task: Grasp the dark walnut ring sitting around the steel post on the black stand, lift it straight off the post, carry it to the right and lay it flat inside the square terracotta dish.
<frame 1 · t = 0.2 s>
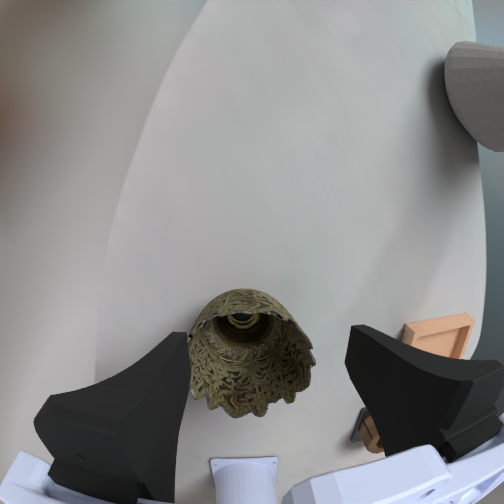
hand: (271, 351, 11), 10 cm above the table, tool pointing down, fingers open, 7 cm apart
coffee pot: (462, 136, 20), on the table
stand: (378, 419, 27), on the table
cup: (242, 309, 22), on the table
dish: (427, 355, 25), on the table
ring: (379, 422, 26), resting on stand
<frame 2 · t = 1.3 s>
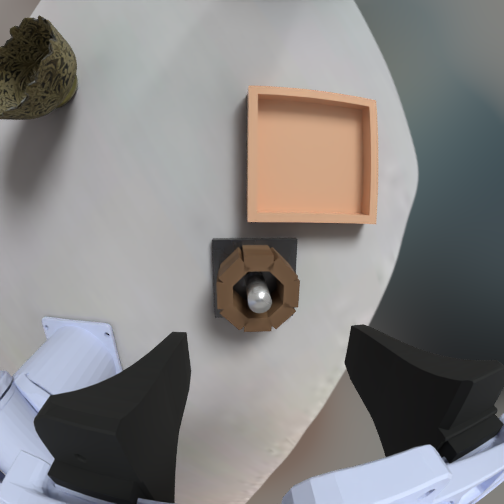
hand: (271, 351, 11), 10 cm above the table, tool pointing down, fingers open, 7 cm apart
stand: (254, 277, 21), on the table
cup: (64, 90, 17), on the table
dish: (310, 156, 19), on the table
ring: (254, 280, 21), resting on stand
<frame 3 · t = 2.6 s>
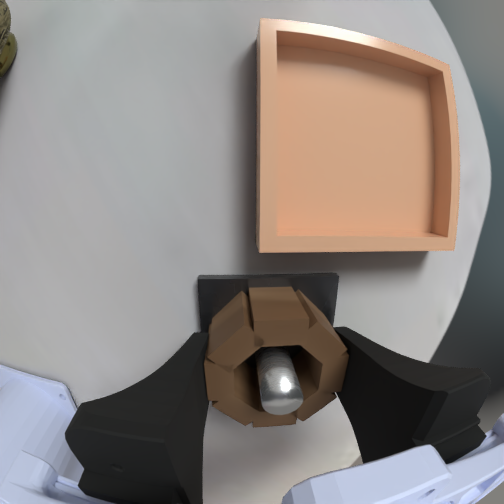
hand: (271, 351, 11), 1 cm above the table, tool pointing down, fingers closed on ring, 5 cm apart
stand: (267, 335, 13), on the table
cup: (3, 62, 8), on the table
dish: (360, 139, 11), on the table
ring: (268, 340, 12), point 1 cm above the table, touching gripper, stand
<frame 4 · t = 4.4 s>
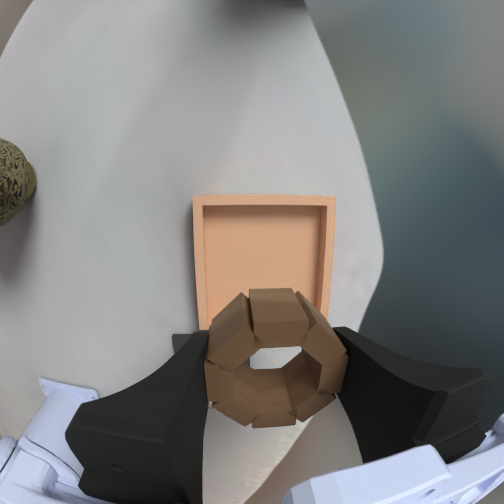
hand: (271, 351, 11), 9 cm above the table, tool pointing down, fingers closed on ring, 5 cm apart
cup: (26, 181, 17), on the table
dish: (262, 259, 20), on the table
ring: (268, 341, 12), point 8 cm above the table, touching gripper
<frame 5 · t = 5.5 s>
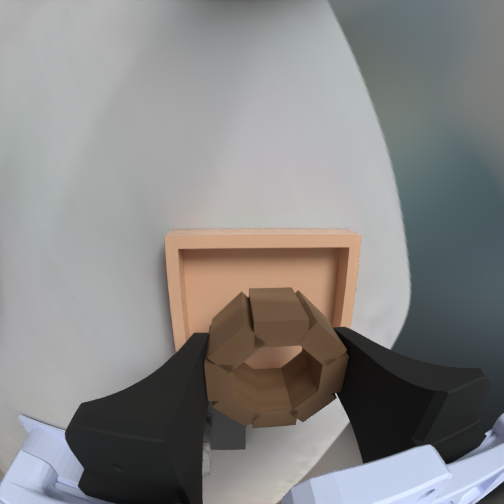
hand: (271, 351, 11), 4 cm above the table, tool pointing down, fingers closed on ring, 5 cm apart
stand: (202, 421, 17), on the table
dish: (261, 311, 15), on the table
ring: (268, 341, 12), point 3 cm above the table, touching gripper
when the fingers open (3 cm above the table, at t = 6.3 s): ring drops 1 cm, resting on dish.
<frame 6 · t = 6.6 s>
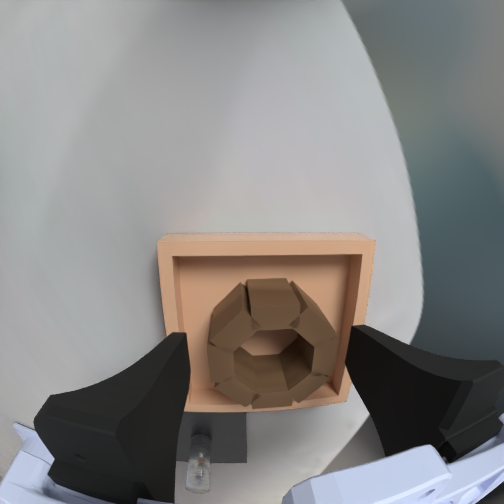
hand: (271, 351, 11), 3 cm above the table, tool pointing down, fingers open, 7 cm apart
stand: (201, 435, 16), on the table
dish: (264, 323, 14), on the table
ring: (266, 328, 14), resting on dish
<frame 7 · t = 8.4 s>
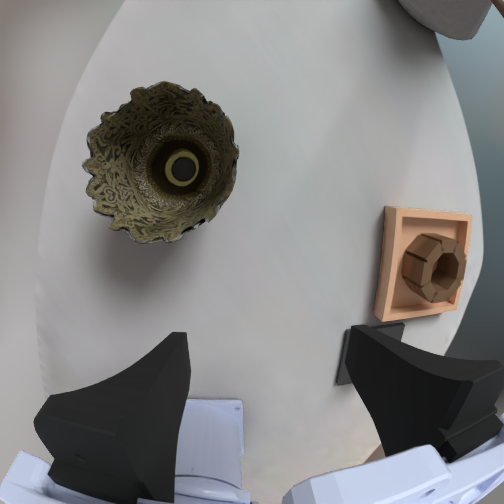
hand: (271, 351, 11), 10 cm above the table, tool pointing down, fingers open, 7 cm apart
coffee pot: (418, 30, 17), on the table
stand: (369, 353, 24), on the table
cup: (184, 169, 19), on the table
dish: (421, 260, 22), on the table
ring: (425, 262, 21), resting on dish
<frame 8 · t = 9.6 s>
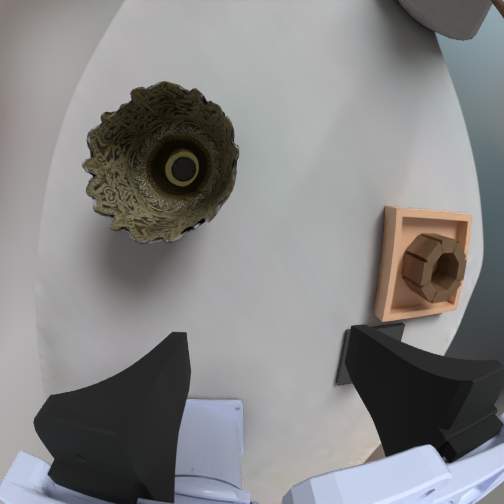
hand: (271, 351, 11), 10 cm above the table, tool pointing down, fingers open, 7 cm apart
coffee pot: (418, 30, 17), on the table
stand: (369, 353, 24), on the table
cup: (184, 169, 19), on the table
dish: (421, 260, 22), on the table
ring: (425, 262, 21), resting on dish
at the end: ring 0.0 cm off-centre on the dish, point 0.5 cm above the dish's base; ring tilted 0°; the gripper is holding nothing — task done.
